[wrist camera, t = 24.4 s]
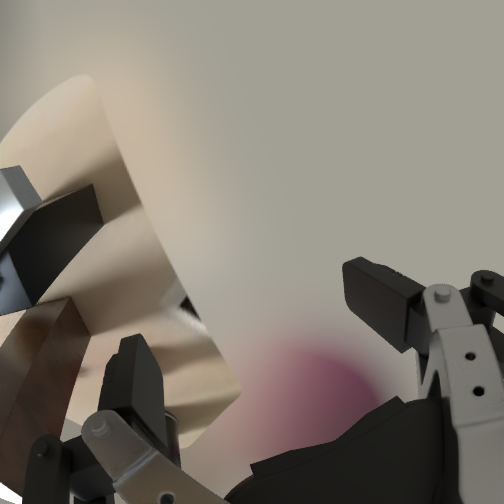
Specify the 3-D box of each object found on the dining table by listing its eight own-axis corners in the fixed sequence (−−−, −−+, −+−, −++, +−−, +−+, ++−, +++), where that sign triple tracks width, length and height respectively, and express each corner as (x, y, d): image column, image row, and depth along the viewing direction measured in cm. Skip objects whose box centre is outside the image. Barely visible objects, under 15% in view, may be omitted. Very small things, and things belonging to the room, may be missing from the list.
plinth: (91, 336, 40) (48, 513, 11) (49, 344, 39) (-6, 495, 10) (70, 296, 37) (-10, 475, 8) (28, 307, 36) (-54, 455, 7)
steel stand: (104, 224, 35) (33, 307, 15) (49, 243, 34) (-34, 325, 14) (92, 183, 33) (1, 229, 13) (36, 205, 31) (-62, 263, 11)
